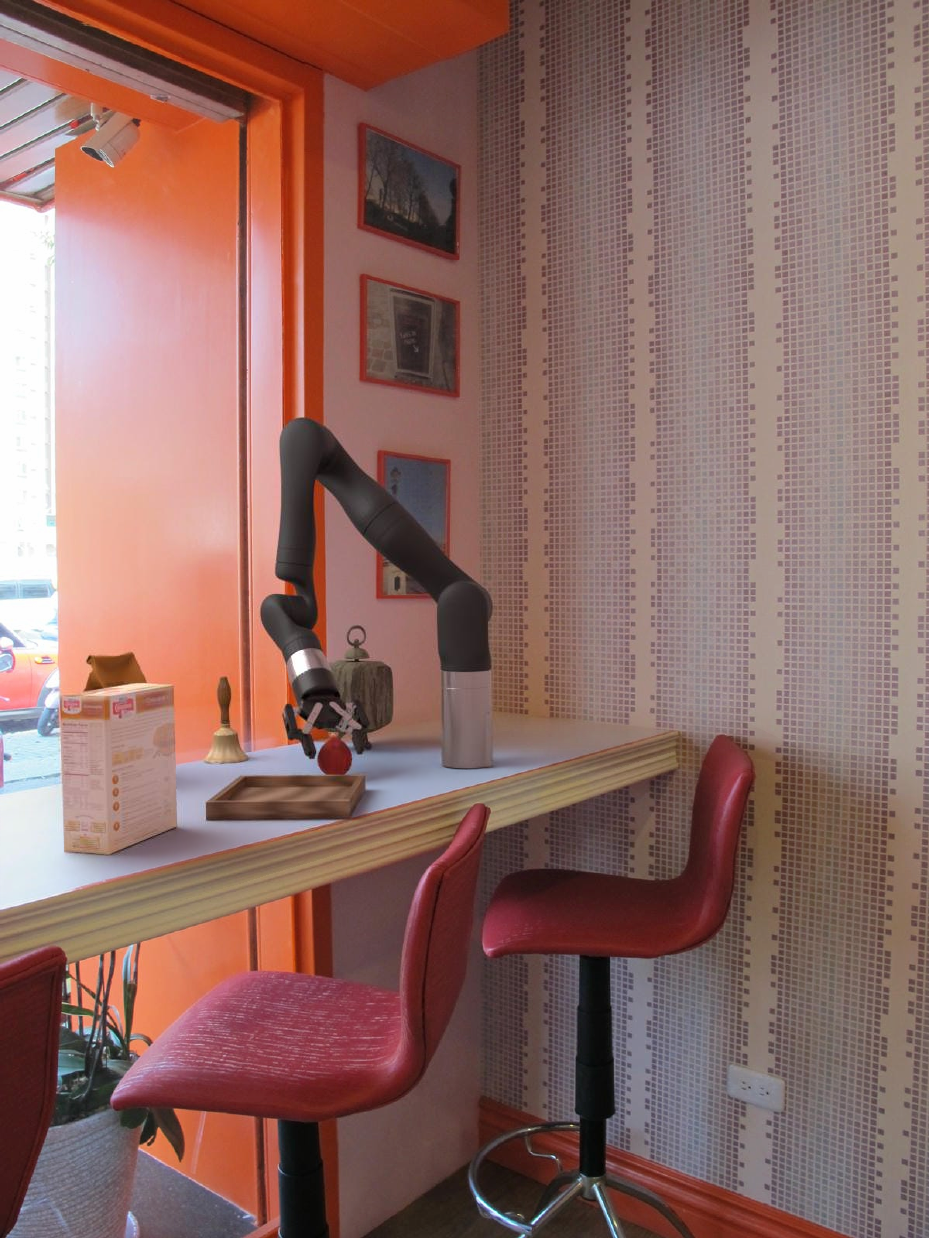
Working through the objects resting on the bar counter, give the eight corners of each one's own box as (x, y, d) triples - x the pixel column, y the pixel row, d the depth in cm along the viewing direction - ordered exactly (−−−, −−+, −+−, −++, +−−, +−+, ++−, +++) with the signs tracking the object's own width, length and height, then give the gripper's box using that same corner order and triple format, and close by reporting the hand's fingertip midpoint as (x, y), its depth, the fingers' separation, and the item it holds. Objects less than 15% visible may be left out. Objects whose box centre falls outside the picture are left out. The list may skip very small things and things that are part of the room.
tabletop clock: (359, 742, 207) (357, 624, 206) (396, 744, 203) (395, 624, 202) (320, 752, 194) (318, 626, 193) (359, 755, 190) (357, 626, 189)
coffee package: (62, 789, 160) (59, 654, 159) (116, 776, 171) (113, 650, 171) (110, 793, 156) (107, 655, 156) (162, 779, 168) (159, 651, 167)
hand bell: (237, 764, 182) (235, 678, 181) (195, 763, 183) (194, 678, 183) (255, 757, 190) (254, 674, 189) (215, 756, 192) (214, 674, 191)
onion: (358, 778, 166) (357, 731, 166) (343, 784, 161) (342, 736, 160) (327, 776, 168) (326, 730, 168) (311, 783, 163) (310, 735, 162)
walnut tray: (365, 789, 156) (365, 774, 156) (349, 818, 136) (349, 800, 136) (240, 791, 157) (240, 775, 156) (206, 820, 137) (205, 802, 136)
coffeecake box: (134, 824, 135) (131, 682, 134) (179, 827, 133) (177, 683, 132) (60, 851, 121) (56, 693, 120) (109, 855, 118) (106, 694, 118)
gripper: (277, 668, 167) (302, 743, 157) (355, 664, 174) (383, 736, 164) (268, 696, 172) (291, 771, 162) (344, 691, 179) (370, 763, 169)
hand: (337, 753), depth 163 cm, fingers open, 8 cm apart
